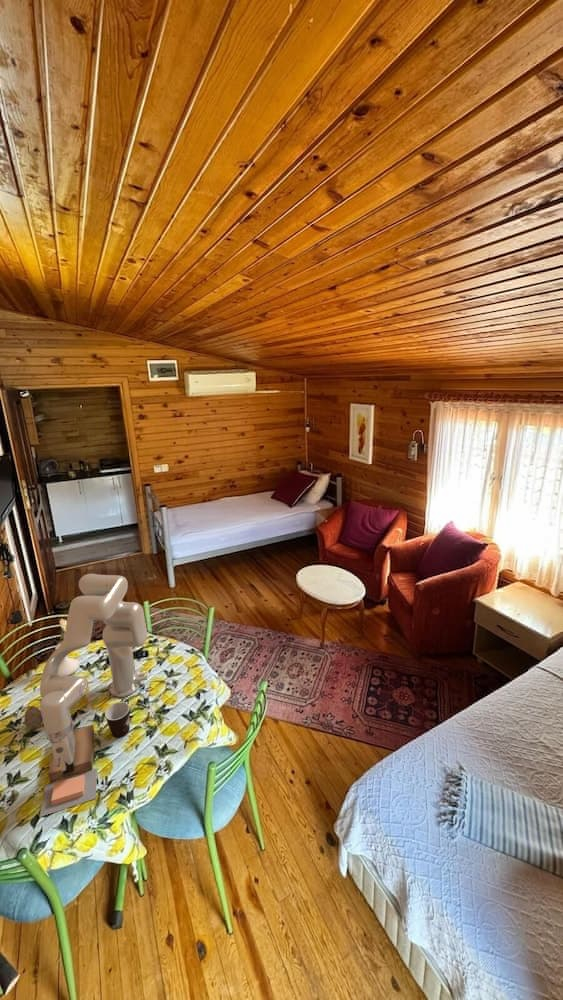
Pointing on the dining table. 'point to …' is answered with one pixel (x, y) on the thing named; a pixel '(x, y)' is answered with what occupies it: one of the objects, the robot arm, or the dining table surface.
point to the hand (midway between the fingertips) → (68, 770)
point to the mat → (88, 796)
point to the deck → (77, 755)
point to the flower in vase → (67, 664)
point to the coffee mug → (118, 718)
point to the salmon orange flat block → (68, 789)
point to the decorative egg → (33, 718)
